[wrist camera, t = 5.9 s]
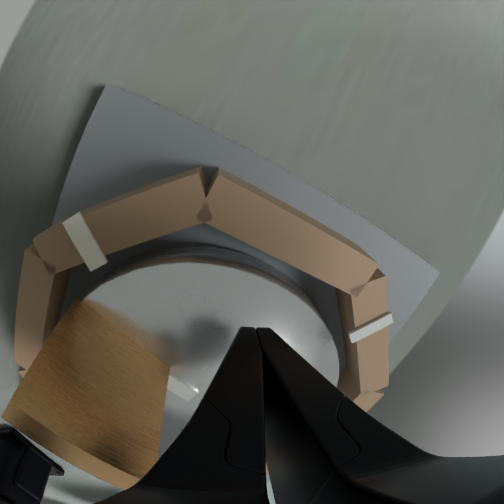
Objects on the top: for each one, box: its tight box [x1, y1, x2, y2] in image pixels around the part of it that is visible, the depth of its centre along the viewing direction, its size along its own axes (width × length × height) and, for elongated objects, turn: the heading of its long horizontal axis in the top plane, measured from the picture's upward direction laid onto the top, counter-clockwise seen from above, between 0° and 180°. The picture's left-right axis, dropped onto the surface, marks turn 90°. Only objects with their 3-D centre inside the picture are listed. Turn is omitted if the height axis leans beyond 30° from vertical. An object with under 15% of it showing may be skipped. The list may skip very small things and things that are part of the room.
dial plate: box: [14, 83, 440, 474], centre depth 13 cm, size 18×16×3 cm
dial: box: [1, 245, 339, 490], centre depth 10 cm, size 12×12×7 cm
